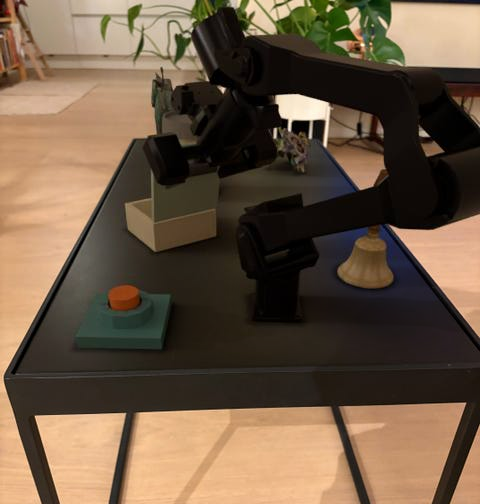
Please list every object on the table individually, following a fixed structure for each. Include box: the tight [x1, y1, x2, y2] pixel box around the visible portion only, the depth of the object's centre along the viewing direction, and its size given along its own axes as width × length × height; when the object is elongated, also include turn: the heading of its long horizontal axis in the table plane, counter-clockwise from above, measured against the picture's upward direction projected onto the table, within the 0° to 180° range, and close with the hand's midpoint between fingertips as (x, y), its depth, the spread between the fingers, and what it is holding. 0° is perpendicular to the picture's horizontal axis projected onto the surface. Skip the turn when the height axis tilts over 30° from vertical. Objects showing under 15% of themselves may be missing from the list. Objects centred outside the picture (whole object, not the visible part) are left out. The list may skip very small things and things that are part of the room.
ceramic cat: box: [150, 66, 174, 134], centre depth 119 cm, size 20×6×20 cm, turn 10°
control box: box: [75, 289, 173, 350], centre depth 64 cm, size 10×10×4 cm
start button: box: [108, 284, 140, 311], centre depth 63 cm, size 4×4×2 cm
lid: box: [150, 142, 220, 223], centre depth 78 cm, size 11×12×5 cm
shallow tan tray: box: [124, 197, 217, 253], centre depth 88 cm, size 11×12×5 cm
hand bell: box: [337, 168, 394, 290], centre depth 73 cm, size 8×8×16 cm
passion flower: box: [267, 126, 312, 174], centre depth 117 cm, size 11×11×12 cm
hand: (193, 180), depth 77 cm, fingers open, 9 cm apart
